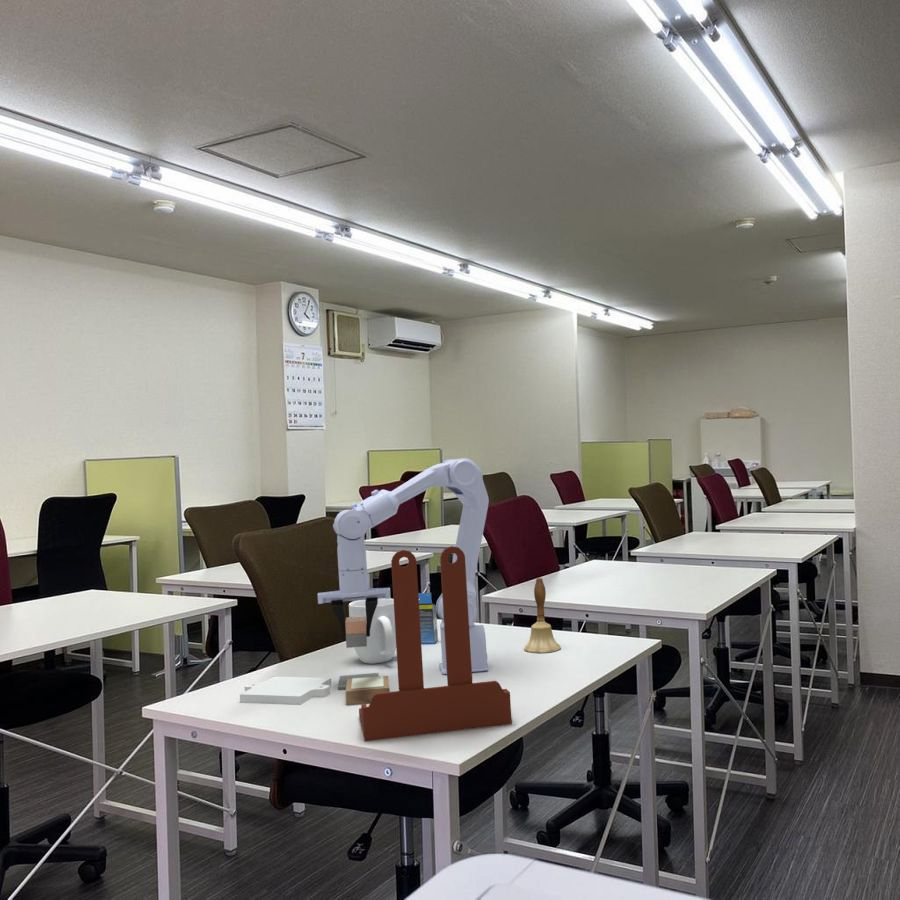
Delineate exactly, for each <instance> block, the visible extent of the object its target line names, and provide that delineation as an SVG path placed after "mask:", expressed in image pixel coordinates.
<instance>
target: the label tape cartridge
mask: <svg viewBox="0 0 900 900" xmlns="http://www.w3.org/2000/svg"><path fill="white" fill-rule="evenodd" d="M418 596H419V613H420V630H421V645H422V644H423V645H424V644H425V645H427V644H428V645H429V644H431V645H432V644H433V645H434V644H436V643H437V642H438V641H439V635H438V618H437V611H436V605H434V604H433V601H432V592H418Z"/></svg>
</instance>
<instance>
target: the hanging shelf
mask: <svg viewBox="0 0 900 900" xmlns="http://www.w3.org/2000/svg"><path fill="white" fill-rule="evenodd" d="M454 553H455V554H456V555H457V560H456V562H454V563H452V562H450V561H449V556H450V555H452V554H454ZM402 558H406V559H407V560H408V563H407V565H406V566H402V565H401V564H400V560H401V559H402ZM439 559H440V577H441V578H440V579H441V594H442V598H443V615H444V632H445V649H446V666H447V674H446V679H447V685H444V686H443V685H441V686H434V687H433V686H432V687H425V685H424V684H425V683H424V666H423V664H424V663H423V652H422V651H423V650H422V644H421V630H420V613H419V600H420V598H419V596H418V593H419V582H418V580H419V579H418V567H417V566H418V564H417V558H416V556H415V554H414V553H412V552H411V551H410V550H406V549H401V550H399V551H396V552H395V553H394V554H393V555H392V558H391V561H390V563H391V578H392V579H391V580H392V582H391V583H392V595H393V598H392V599H394V616H395V633H396V650H395V652H396V662H397V663H396V665H397V667H396V668H397V682H398V690H395V691H389V692H384V693H376V694H374V695H373V696H372V698H371V702H370V703H369V705H368V706H367V703H364V704H360V708H358V718H359V721H360V727H361V731H362V735H363V739H364V742H370V741H378V740H379V741H380V740H388V739H396V738H406V737H414V736H422V735H431V734H440V733H447V732H449V733H450V732H456V731H465V730H473V729H481V728H483V729H485V728H491V727H498V726H507V725H508V726H509V725H512V724H513V721H512V704H511V703H512V702H511V692H510V691H509V690H508V689H507V688H502V686H501V684H500V683H499V682H498V681H497V680H490V681H480V682H473V672H472V667H471V650H470V633H469V616H468V599H467V582H466V565H465V555H464V553H463V551H462V550H461V549H460V548H458V547H455V546H454V545H451V546H448V547H445V548H444V549H443V551H442V552H441V553H440V557H439Z"/></svg>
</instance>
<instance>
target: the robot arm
mask: <svg viewBox="0 0 900 900" xmlns="http://www.w3.org/2000/svg"><path fill="white" fill-rule="evenodd" d="M483 476H484V475H483V471H482V470H481V468H480V467H479V466H478V465H477V463H476V462H475V461H473V460H472V459H470V458H465V457H462V458H458V459H457V458H448V459H445V460H444V461H442V463H437V464H434V465H432V466H430V467H428V468H426V469H424V470H423V471H421V472H419V474H417V475H415V476H414V477H412V478H410V479H409V480H408V481H406V482H404V483H403V484H401V485H399V486H397V487H396V488H394V489H393V490H391V491H390V490H386V489H381V490H378V489H374V490H373V491H371V492H370V494H371V496H369V497H367V498H365V499H362V501H360V502H358V503H357V502H353V503H352V504H351V505H350V506H351V509H344V510H341V511H340V512H339V513H337V515H336V517H335V518H334V520H333V521H334V522H333V524H332V528H333V531H334V532H335V534H336V535H337V536H336V537H337V539H336V543H337V548H336V549H337V551H336V552H337V567H338V582H339V583H338V584H339V590H333V591H326V592H325V591H324V592H318V593H317V604H318V605H321V604H325V603H331V604H330V608H331V610H332V612H333V613H334V616H335V618H336V619H337V621H338V623H339V624H338V625H339V627H340V630H341V634H342V639H346V624H345V622H346V611H345V610H346V607H345V602H354V601H358V600H366V601H365V606H366V637H369V636H370V628H371V623H372V619H373V615H374V612H375V609H376V607H377V604H378V599H383V598H385V599H390V598H391V588H390V587H379V588H378V587H376V588H374V587H372V588H369V581H368V579H369V578H368V568H367V567H368V566H367V565H368V563H367V551H366V550H367V547H366V544H365V543H366V542H365V534H366V533H367V532H368V529H370V530H371V529H372V528H375V527H376V526H377V525H379V524H381V523H383V522H385V521H386V520H388V519H389V518H391V517H393V516H395V515H396V514H397V513H398V509H399V507H400V505H401V504H404V502H405V503H406V502H407V501H409V500H411V499H412V498H414V497H416V496H418V495H420V494H422V493H425V492H426V491H427V490H429V489H431V488H435V487H436V488H437V487H445V488H446V489H448V490H449V491H451V492H452V493H454V495H455V496H456V498H457V499H458V500H459V501H460V503H461V504H462V510H461V511H462V512H461V516H460V520H459V521H460V522H459V527H458V531H457V536H456V542H455V546H454V547H458V548H460V549H461V550H462V551H463V553H464V555H465V565H466V582H467V599H468V616H469V633H470V650H471V667H472V673H473V672H474V673H475V672H485V671H489V668H488V652H487V639H486V631H485V627H484V625H483V624H475V621H476V619H477V617H478V609H477V603H476V598H477V592H476V588H475V584H474V581H475V577H476V571H477V566H478V562H479V561H478V560H479V556H480V551H481V550H480V549H481V544H482V540H483V536H484V530H485V524H486V520H487V514H488V509H489V503H490V502H489V501H490V499H489V496H488V495H489V494H488V491H487V489H486V486H485V482H484V479H483V478H484V477H483ZM452 557H453V558H452V562H451V563H454V562H456V560H457V555H456V554H455V553H453V556H452ZM391 599H392V598H391ZM435 607H436V615H438V616H439V618H440V619H441V621H440V624H439V628H440V629H439V630H440V644H441V645H440V646H441V662H440V663H439V665H438V666H439V668H440V671H441V674H442V675H447V666H446V649H445V632H444V615H443V598H442V593H441V594H440V595H439V597H438V598H437V600H436V605H435Z"/></svg>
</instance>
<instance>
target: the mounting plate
mask: <svg viewBox="0 0 900 900" xmlns="http://www.w3.org/2000/svg"><path fill="white" fill-rule="evenodd" d="M330 687H332V678H331V677H307V676H303V677H302V676H273V677H270V678H269V679H267V680H265V681H263V682H250V683H248V684H245V685H244V691H243V692H242V693H239V701H240V703H245V704H246V703H249V704H251V703H252V704H273V705H275V704H277V705H300V706H301V705H302V704H304V703H306V702H307V701H309V700H311V699H313V698H326V697H328V696H329V695H331V690H330V689H331V688H330Z"/></svg>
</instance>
